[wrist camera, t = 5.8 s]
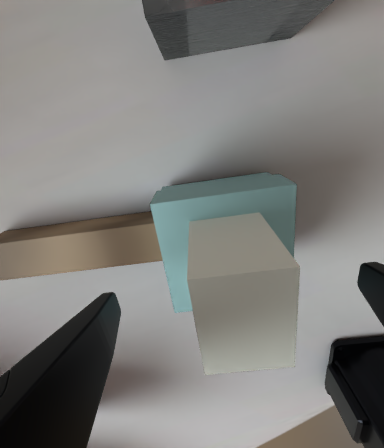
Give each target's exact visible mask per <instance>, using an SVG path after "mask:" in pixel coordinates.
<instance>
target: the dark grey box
mask: <svg viewBox="0 0 384 448" xmlns="http://www.w3.org/2000/svg"><path fill="white" fill-rule="evenodd" d="M333 1H334V0H142V3H143V8H144V14H145V18H146V20H147V22H148V25H149V27H150V29H151V31H152V33H153V36H154V38H155V40H156V42H157V44H158V47H159V49H160V51H161V53H162V56H163V58H164V60H169V59H175V58H181V57H186V56H192V55H198V54H203V53H209V52H215V51H220V50H226V49H232V48H237V47H243V46H249V45H254V44H260V43H266V42H271V41H277V40H283V39H289V38H291V37H293V36H294V35H295V34H296V33H297V32H298V31H299V30H301V29H302V28H303V27H304V26H305V25H306V24H308V23H309V22H310V21H311V20H312V19H313V18H315V17H316V16H317V15H318V14H319V13H320V12H321V11H323V10H324V9H325V8H326V7H327V6H328V5H330V4H331V3H332V2H333Z"/></svg>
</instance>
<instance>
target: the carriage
mask: <svg viewBox="0 0 384 448" xmlns="http://www.w3.org/2000/svg"><path fill="white" fill-rule="evenodd" d="M296 189H297V184H296V183H294V182H292V181H291V180H289V179H287V178H285V177H284V176H282V175H280V174H275V175H271V174H270V173H268V172H265V173H258V174H251V175H244V176H237V177H230V178H223V179H216V180H209V181H201V182H194V183H187V184H180V185H173V186H166V187H162V190H161V191H157V192H156V194H155V196H154V198H153V199H152V201H151V203H150V207H151V211H152V216H153V220H154V224H155V229H156V233H157V237H158V242H159V246H160V250H161V255H162V259H163V263H164V268H165V272H166V276H167V281H168V285H169V289H170V294H171V298H172V302H173V307H174V311H175V313H177V312H187V311H193V315H194V320H195V325H196V331H197V336H198V341H199V347H200V352H201V357H202V363H203V368H204V373H205V375H211V374H222V373H233V372H245V371H256V370H267V369H278V368H289V367H295V351H296V332H297V314H298V295H299V276H300V266H299V265H298V263H297V262H296V261H295V259H294V239H295V214H296Z"/></svg>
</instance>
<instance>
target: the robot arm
mask: <svg viewBox="0 0 384 448" xmlns="http://www.w3.org/2000/svg"><path fill="white" fill-rule="evenodd" d="M357 283H358V287H359V289H360V291H361V292H362V294H363V296H364V297H365V299H366V300H367V302H368V303H369V305H370V306H371V308H372V310H373V311H374V313H375V314H376V316H377V317H378V319H379V320H380V322H381V323H382V325H383V326H384V265H383V264H380V263H377V262H368V263H363V264H361V266H360V270H359V276H358V282H357ZM120 316H121V309H120V306H119V303H118V300H117V297H116V295H115V293H113V292H109V293H103V294H101V295H100V296H99V297H98V298H96V299H95V300H94V301H93V302H92V303H90V304H89V305H88V306H87V307H85V308H84V309H83V310H82V311H80V312H79V313H78V314H77V315H76V316H74V317H73V318H72V319H71V320H69V321H68V322H67V323H66V324H65V325H63V326H62V327H61V328H60V329H58V330H57V331H56V332H55V333H53V334H52V335H51V336H50V337H49V338H47V339H46V340H45V341H44V342H42V343H41V344H40V345H39V346H37V347H36V348H35V349H34V350H33V351H31V352H30V353H29V354H28V355H26V356H25V357H24V358H23V359H21V360H20V361H19V362H18V363H17V364H15V365H14V366H13V367H12V368H11V370H8V371H7V372H5V373H4V374H3V375H2V376H1V377H0V448H87V444H88V441H89V437H90V434H91V430H92V427H93V423H94V420H95V417H96V413H97V410H98V406H99V403H100V399H101V396H102V393H103V389H104V386H105V382H106V379H107V375H108V372H109V369H110V365H111V362H112V358H113V354H114V349H115V344H116V338H117V333H118V327H119V322H120ZM325 389H326V391H327V393H328V394H329V395H330V396H331V398H332V400H333V402H334V404H335V406H336V408H337V409H338V411H339V413H340V415H341V417H342V419H343V421H344V423H345V425H346V427H347V429H348V431H349V433H350V435H351V437H352V439H353V440H354V441H355V442H356V443H362V444H363V446H364V448H384V336H383V337H372V338H362V339H351V340H341V341H335V342H333V343H332V345H331V350H330V357H329V364H328V366H327V372H326V379H325Z"/></svg>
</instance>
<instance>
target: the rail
mask: <svg viewBox="0 0 384 448" xmlns="http://www.w3.org/2000/svg"><path fill="white" fill-rule="evenodd" d="M156 261H163V259H162V255H161V250H160V246H159V242H158V237H157V233H156V229H155V224H154V220H153V216H152V211H150V212H143V213H136V214H128V215H121V216H113V217H106V218H99V219H91V220H84V221H77V222H69V223H62V224H55V225H47V226H40V227H32V228H25V229H18V230H10V231H4V232H2V233H1V234H0V280H8V279H16V278H25V277H33V276H41V275H49V274H57V273H66V272H74V271H82V270H90V269H98V268H107V267H115V266H123V265H131V264H139V263H147V262H156Z"/></svg>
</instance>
